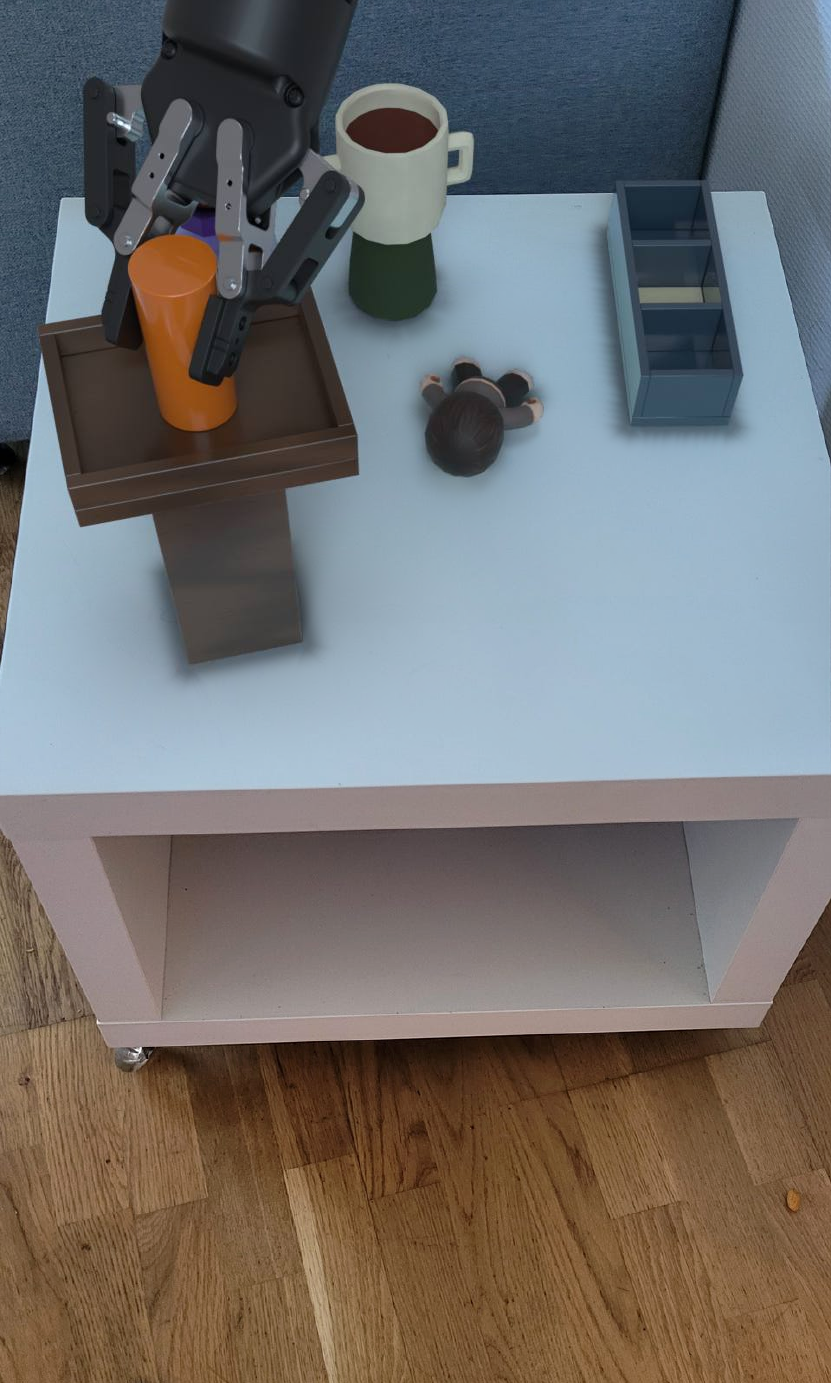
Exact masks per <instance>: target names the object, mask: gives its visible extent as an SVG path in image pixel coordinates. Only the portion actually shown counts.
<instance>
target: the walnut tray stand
mask: <svg viewBox="0 0 831 1383" xmlns="http://www.w3.org/2000/svg"><path fill="white" fill-rule="evenodd" d="M36 329H37V330H36V331H37V334H38V340H39V346H40V349H41V350H40V351H41V357H42V362H43V367H44V372H45V377H46V383H47V388H48V394H49V400H50V404H51V410H52V415H53V421H54V426H55V432H56V436H57V442H58V447H59V448H58V449H59V452H60V458H61V464H62V469H63V474H64V479H65V484H66V489H67V492H68V496H69V499H70V502H71V504H72V508H73V510H74V514H75V517H76V520H77V524H78V526H79V528H84V527H90V526H96V525H101V524H107V523H113V522H117V521H123V520H127V519H133V518H138V517H143V516H149V515H151V516H152V521H153V525H154V528H155V533H156V537H157V540H158V544H159V548H160V553H161V558H162V561H163V565H164V569H165V573H166V577H167V581H168V585H169V590H170V593H171V597H172V601H173V605H174V609H175V614H176V618H177V621H178V626H179V630H180V634H181V638H182V642H183V645H184V650H185V654H186V658H187V662H188V665H189V666H191V665H196V664H197V665H198V664H201V663H206V662H207V663H208V662H211V661H217V660H220V659H226V658H227V659H228V658H230V657H236V656H241V655H246V654H251V653H256V652H261V651H266V650H270V649H275V648H280V647H285V646H291V645H296V644H301V643H303V634H302V626H301V623H302V622H301V614H300V606H299V598H298V588H297V579H296V568H295V560H294V552H293V550H294V549H293V544H292V542H293V541H292V534H291V523H290V514H289V507H288V497H287V490H288V489H292V488H293V489H294V488H297V487H303V486H309V485H313V484H314V485H315V484H318V483H324V482H330V481H335V480H341V479H346V478H351V477H356V476H359V475H360V460H359V459H360V457H359V435H358V431H357V429H356V426H355V421H354V419H353V418H354V417H353V415H352V411H351V409H350V406H349V402H348V398H347V396H346V394H345V390H344V387H343V383H342V380H341V377H340V374H339V371H338V368H337V364H336V361H335V358H334V355H333V352H332V349H331V345H330V342H329V339H328V335H327V333H326V329H325V326H324V323H323V320H322V316H321V314H320V310H319V307H318V304H317V301H316V298H315V295H314V291H313V288H312V285H311V286H310V287H309V289H308V290H307V292H306V293H305V295H304V296H303V298H302V299H301V301H300V302H299V303H298V304H297V305H296V306H293V307H288V306H285V305H283V304H278V305H263V306H261V307H259V308H258V309H257V310H256V311H255V312H254V314H253V316H252V320H251V323H250V326H249V330H248V333H247V336H246V340H245V343H244V346H243V350H242V353H241V355H240V360H239V363H238V367H237V369H236V371H235V372H234V375H235V382H236V389H237V395H238V403H237V407H236V410H235V412H234V414H233V415H232V416H231V417H230V418H229V419H228V420H227V421H226V422H225V423H223V424H222V425H220V426H218V427H216V428H213V429H210V430H206V431H186V430H182V429H179V428H176V427H174V426H172V425H171V424H169V423H168V422H167V421H166V420H165V419H164V418H163V417H162V415H161V413H160V411H159V408H158V404H157V399H156V395H155V390H154V386H153V382H152V377H151V373H150V368H149V364H148V359H147V355H146V350H145V346H144V341H142V344H141V346H140V348H139V349H138V350H135V351H134V350H130V349H125V348H121V347H118V346H116V345H114V344H112V343H109V342H107V341H106V339H105V330H106V326H103V325H102V318H101V314H95V315H89V316H84V317H77V318H72V319H65V320H60V321H55V322H47V323H42V324H37V326H36Z"/></svg>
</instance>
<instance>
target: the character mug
mask: <svg viewBox="0 0 831 1383" xmlns="http://www.w3.org/2000/svg"><path fill="white" fill-rule="evenodd" d="M447 113H448V112H447V109H446V108H445V107H444V106H443V105H442V104H441V102H440V101H439V99H437V97H435V96H434V95H432V94H430V93H428V92H426V91H424V90H422V89H421V88H420V87H415V86H413V85H412V86H411V85H407V84H404V83H393V82H392V83H389V82H386V83H385V82H384V83H376V84H372V85H368V86H365V87H362V88H361V89H358V90H356V91H354V92H353V93H352V94H351V95H349V96H348V97H347V98H345V99H344V100H343V101H342V102H341V104H340V106H339V108H338V109H337V112H336V114H335V120H334V121H335V122H334V128H335V144H336V146H335V147H336V149H335V150H336V153H335V154H329V155H324V156H322V157H323V158H324V159H325V160H326V161H327V162H328V163H329V164H330V165H331V166H332V167H333V168H335V169H336V170H337V171H338V172H339V173H340V174H343V175H345V176H346V177H348V178H349V179H351V180H353V181H354V182H355V183H356V184H357V185H359V186H360V187H361V188H362V189H363V191H364V193H365V203H364V205H363V207H362V209H361V210H360V212H359V213H358V215H357V216H356V218H355V219H354V221H353V222H352V224H351V225H350V227H349V228H350V229H351V231H352V238H351V246H350V254H349V265H348V282H347V283H348V284H347V285H348V295H349V297H350V298H351V299H352V301H353V302H354V303H355V304H356V306H357V307H358V308H359V309H361V310H362V311H363V312H366V313H367V314H369V315H370V316H372V317H374V318H376V319H377V318H378V319H383V320H388V321H391V322H392V321H393V322H398V321H402V320H407V319H408V320H409V319H413V318H415V317H417V316H419V315H420V314H421V313H423V312H424V311H425V310H427V309H428V308H429V307H430V306H431V305H432V302H433V300H434V298H435V297H436V295H437V292H438V285H437V284H438V283H437V272H436V263H435V262H436V261H435V253H434V245H433V237H432V232H433V231H434V230H435V229H436V228H438V226H439V224H440V222H441V219H442V217H443V213H444V210H445V208H446V206H447V192H448V191H447V190H448V186H452V185H457V184H462V183H465V182H467V181H469V180H470V179H471V177H472V175H473V166H474V151H475V150H474V149H475V138H474V135H473V133H472V132H470V131H465V130H461V131H457V132H451V133H450V132H449V130H450V129H449V121H448V120H449V119H448V114H447ZM453 151H459V152H458V165H456V166H451V167H449V166H448V164H449V161H448V160H449V152H453Z"/></svg>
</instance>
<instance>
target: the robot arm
mask: <svg viewBox="0 0 831 1383" xmlns="http://www.w3.org/2000/svg"><path fill="white" fill-rule="evenodd" d="M358 3H359V0H166V2H165V7H164V10H163V14H162V19H161V47H160V48H161V49H160V52H159V55H158V57H157V59H156V61H155V62H154V63H153V66H152V67H151V68H150V69H149V71H148V72H147V74H145V76H144V78H143V80H142V82H141V84H120V85H119V84H118V85H112V84H111V83H109V82H107V81H106V80H103V79H102V78H99V77H98V76H92V77H90V78H88V79H87V80H86V81H85V83H84V85H83V89H82V117H83V118H82V121H83V124H82V126H83V128H82V130H83V178H84V179H83V185H84V186H83V188H84V190H83V191H84V194H83V195H84V217H85V219H86V221H87V223H88V224H89V225H91V226H92V227H95V228H97V229H98V230H99V231H100V232H101V233H102V234H103V235H104V236H105V237H106V238H107V239H108V240H109V241H110V243H111V244H112V247H113V249H114V260H113V265H112V267H111V268H112V269H111V272H110V276H109V280H108V284H107V288H106V290H107V291H105V295H104V300H103V303H102V308H101V311H100V315H101V318H102V325H103V326H106V330H105V339H106V341H107V342H109V343H112V344H114V345H116V346H118V347H121V348H125V349H130V350H134V351H135V350H138V349H139V348H140V346H141V344H142V341H143V337H142V332H141V328H140V323H139V319H138V314H137V310H136V305H135V301H134V296H133V292H132V288H131V283H130V279H129V274H128V263H129V260H130V257H131V255H132V254H133V252H134V251H135V250H136V249H137V248H138V247H139V246H140V245H142V244H143V243H145V242H147V241H148V240H151V239H153V238H156V237H159V236H164V235H171V234H175V233H176V232H177V230H178V228H179V227H180V226H181V225H183V224H185V223H186V222H187V221H188V220H189V219H190V218H191V216H192V214H193V212H194V210H195V208H196V207H197V205H198V203H201V204H206V205H210V206H211V207H214V208H216V216H215V232H216V236H217V238H218V240H219V261H218V279H217V287H218V291H219V293H218V297H216V296H213V295H210V296H209V299H208V302H207V306H206V309H205V313H204V316H203V320H202V324H201V327H200V331H199V334H198V338H197V341H196V345H195V348H194V352H193V355H192V359H191V362H190V366H189V371H188V373H189V377H190V378H191V379H193V380H196V381H198V382H200V383H202V384H206V385H211V386H216V387H218V386H219V385H220V384H221V383H222V382H223V380H224V377H228V378H230V377H231V376H232V375H233V373H234V372H235V371H236V369H237V367H238V363H239V360H240V355H241V353H242V350H243V346H244V343H245V340H246V336H247V333H248V330H249V326H250V323H251V320H252V316H253V314H254V312H255V311H256V310H257V309H258V308H259V307H261V306H263V305H278V304H283V305H285V306H288V307H293V306H296V305H297V304H298V303H299V302H300V301H301V299H302V298H303V296H304V295H305V293H306V292H307V290H308V289H309V287H310V286H311V287H312V284H313V283H314V282H315V280H316V279H317V277H318V275H319V274H320V272H321V271H322V269H323V268H324V266H325V265H326V263H327V262H328V260H329V259H330V257H331V256H332V254H333V253H334V251H335V250H336V249H337V247H338V245H339V243H340V242H341V241H342V239H343V238H344V237H345V235H346V233H347V232H348V230H349V228H350V225H351V224H352V222H353V221H354V219H355V218H356V216H357V215H358V213H359V212H360V210H361V209H362V207H363V205H364V203H365V193H364V191H363V189H362V188H361V187H360V186H359V185H357V184H356V183H355V182H354V181H353V180H351V179H349V178H348V177H346V176H345V175H343V174H340V173H339V172H338V171H337V170H336V169H335V168H333V167H332V166H331V165H330V164H329V163H328V162H327V161H326V160H325V159H324V158H323V156H322V155H321V138H320V118H321V115H322V112H323V110H324V108H325V106H326V104H327V103H328V101H329V99H330V96H331V93H332V90H333V86H334V84H335V83H334V82H335V80H336V76H337V73H338V69H339V66H340V63H341V60H342V56H343V53H344V50H345V46H346V44H347V39H348V36H349V33H350V30H351V27H352V24H353V20H354V16H355V13H356V10H357V6H358ZM144 122H146V126H147V129H148V133H149V134H148V135H149V138H150V141H151V148H150V150H149V152H148V154H147V156H146V158H145V160H144V162H143V164H142V165H141V168H140V170H139V172H138V173H137V171H136V170H137V169H136V167H137V166H136V159H137V158H136V156H137V155H136V154H137V153H136V141H138V140H139V139H141V138H142V137H143V135H144V128H143V125H144ZM136 173H137V174H136ZM302 179H303V183H302V187H301V189H300V191H299V193H298V194H299V195H298V202H299V206H300V208H299V210H298V212H297V213H296V215H295V216H294V217H293V219H292V221H291V222H290V224H289V226H288V227H287V228H286V230H285V232H284V234H283V235H282V237H281V238H280V240H279V242H277V243H278V244H277V246H276V248H275V249H274V251H273V252H272V254H271V255H270V257H269V258H268V254H269V252H271V250H272V248H273V244H274V233H275V228H276V215H277V213H276V212H277V201H278V200H280V199H281V198H282V197H283V196H284V195H286V193H287V192H289V191H290V190H291V189H293V187H295V185H297V184H298V183H299V182H300V181H301V180H302Z"/></svg>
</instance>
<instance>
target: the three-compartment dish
mask: <svg viewBox="0 0 831 1383" xmlns="http://www.w3.org/2000/svg"><path fill="white" fill-rule="evenodd" d="M606 241H607V242H606V243H607V249H608V257H609V265H610V274H611V282H612V290H613V298H614V304H615V305H614V306H615V312H616V313H615V314H616V322H617V330H618V338H619V344H620V351H621V352H620V353H621V362H622V368H623V369H622V370H623V377H624V386H625V393H626V401H627V402H626V403H627V409H628V416H629V426H630V427H687V426H689V427H692V426H693V427H694V426H699V427H700V426H701V427H702V426H703V427H704V426H705V427H706V426H708V427H709V426H729V424H730V421H731V416H732V414H733V411H734V408H735V404H736V401H737V398H738V394H739V391H740V388H741V384H742V381H743V379H744V370H743V365H742V359H741V354H740V348H739V343H738V337H737V330H736V326H735V321H734V320H735V319H734V314H733V308H732V303H731V296H730V292H729V286H728V281H727V276H726V269H725V263H724V258H723V253H722V248H721V241H720V234H719V230H718V224H717V218H716V214H715V208H714V202H713V196H712V191H711V184H710V180H709V179H701V180H700V179H684V180H683V179H682V180H681V179H680V180H679V179H678V180H677V179H676V180H675V179H672V180H671V179H669V180H668V179H667V180H666V179H665V180H664V179H662V180H659V179H657V180H655V179H654V180H653V179H652V180H649V179H647V180H614V187H613V193H612V198H611V203H610V210H609V216H608V222H607V229H606Z"/></svg>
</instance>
